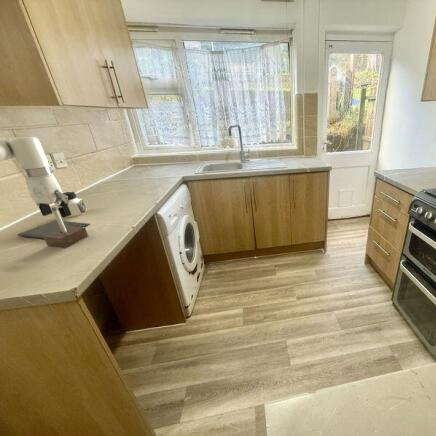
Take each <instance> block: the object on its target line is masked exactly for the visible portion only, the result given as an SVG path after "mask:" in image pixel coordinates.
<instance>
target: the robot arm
mask: <svg viewBox="0 0 436 436" xmlns="http://www.w3.org/2000/svg"><path fill="white" fill-rule="evenodd" d="M11 159H16V161H17V163H18V165H19V167H20V170H21V171H22V172H21V173H23V176H24V179H25V183H26V187H27V190H28V193H29V196H30V198H31V199H32V201H33V202H34V203H35V204H36V206H37V207H38V209H39V211H40V213H41V215H42V216H43V217H45V216H49V215H52V214H54V213H53V211H52V207H51V206H50V205H52V204H55V205H56V207H57V210H58V212H59V214H60V217H61V219H62V218H63V219H65V218H68V217H67V216H70V215H71V212H70V210H69V207H68V196H66V195H65V194H63V193H64V192H63V190H62V188H61V186H60V184H59V182H58V180H57V179H56V177H55V176H54V172H53V170H52V168H51V165H50V163H49V160H48V158H47V155H46V153H45V151H44V147H43V146H42V144H41V141H40V140H39V138H38V137H37V136H15V137H4V136H3V137H2V136H1V137H0V163H1V162H4V161H8V160H11Z"/></svg>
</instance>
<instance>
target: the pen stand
mask: <svg viewBox="0 0 436 436" xmlns="http://www.w3.org/2000/svg"><path fill="white" fill-rule="evenodd" d="M65 228H66V230H67V232H66V233H62V230H61V229H59V230H57V231H54V232H52V233H49V234H47V235H44V236H43V237H44V239H43V240H44V242H45V243H46V246H47V247H51V248H59V247H61V248H60V249H67V248H68V246H69V247H71V246H73V245H75V244H76V243H75V242H77V241H79V240H81V239H83V238H85V237H86V238H88V237H89V234H88V231H87V229H86V227H85V228H82V227H73V226H67V227H65ZM87 236H88V237H87ZM86 238H85V239H86ZM83 240H84V239H83ZM81 241H82V240H81ZM79 242H80V241H79ZM74 243H75V244H74ZM77 243H78V242H77ZM72 244H73V245H72ZM70 245H71V246H70ZM66 247H67V248H66Z"/></svg>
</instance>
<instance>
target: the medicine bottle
mask: <svg viewBox="0 0 436 436" xmlns="http://www.w3.org/2000/svg"><path fill="white" fill-rule="evenodd" d="M63 194H65V195H66V196H68V207H69V210H70V212H71V215H70V216H67V217H66V218H71V217H72V218H73V217H76V216H77V217H78V216H82V215H84V214H85V213H86V212H87V210H88V209H87V207H86V205H85V203H84V200H83V198H78V196H77V194H76V192H75V191H64V192H63Z"/></svg>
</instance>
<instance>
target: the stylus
mask: <svg viewBox="0 0 436 436" xmlns="http://www.w3.org/2000/svg"><path fill="white" fill-rule="evenodd" d="M51 210H52V212H53V213H52V214H53V215H54V217H55V219H56V220H57V221H58V224H59V226H60V228H61V230H62V233H66V232H67V230H66V228H65V226H64V223H63V221H64V220H63V219H62V217H61V214H60V212H59V210H58V206H54V207H53V206H52V207H51Z"/></svg>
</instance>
